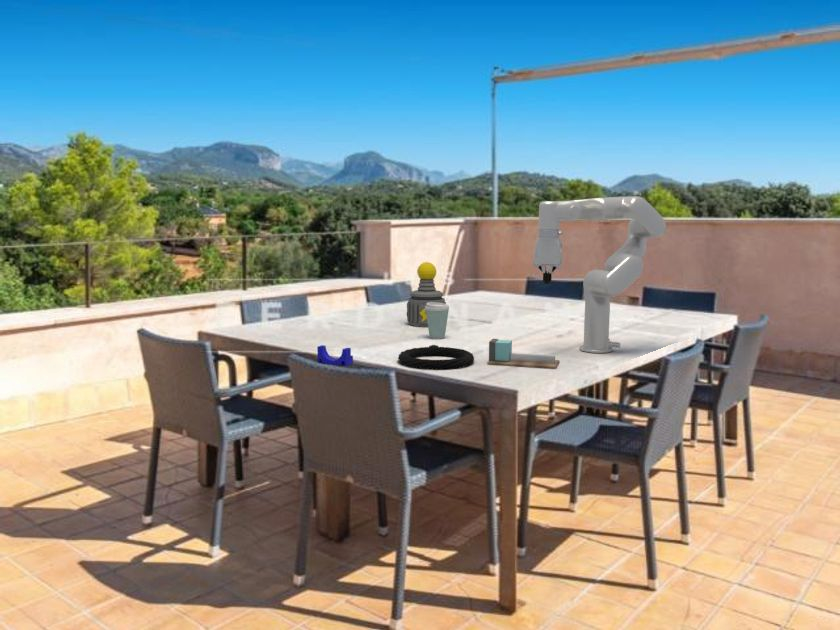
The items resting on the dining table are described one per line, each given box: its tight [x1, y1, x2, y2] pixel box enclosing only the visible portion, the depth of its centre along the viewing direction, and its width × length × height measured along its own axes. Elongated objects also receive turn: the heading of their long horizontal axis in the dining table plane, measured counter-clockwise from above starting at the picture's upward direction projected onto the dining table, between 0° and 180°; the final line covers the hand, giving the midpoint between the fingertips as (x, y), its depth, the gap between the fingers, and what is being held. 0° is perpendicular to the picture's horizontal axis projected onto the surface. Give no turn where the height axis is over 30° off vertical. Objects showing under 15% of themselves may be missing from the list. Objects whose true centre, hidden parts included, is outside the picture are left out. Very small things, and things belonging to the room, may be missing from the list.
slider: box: [495, 339, 513, 361], centre depth 266 cm, size 5×6×6 cm
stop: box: [488, 338, 499, 361], centre depth 267 cm, size 2×7×7 cm, turn 163°
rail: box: [509, 352, 556, 364], centre depth 264 cm, size 21×2×2 cm, turn 73°
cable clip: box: [316, 345, 354, 367], centre depth 263 cm, size 12×4×6 cm, turn 64°
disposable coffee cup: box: [425, 302, 450, 340], centre depth 315 cm, size 11×11×15 cm
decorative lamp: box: [406, 261, 447, 328], centre depth 352 cm, size 19×19×30 cm
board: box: [486, 359, 560, 370], centre depth 264 cm, size 24×12×1 cm, turn 73°
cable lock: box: [397, 344, 475, 370], centre depth 267 cm, size 28×4×30 cm
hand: (547, 283), depth 278 cm, fingers closed
